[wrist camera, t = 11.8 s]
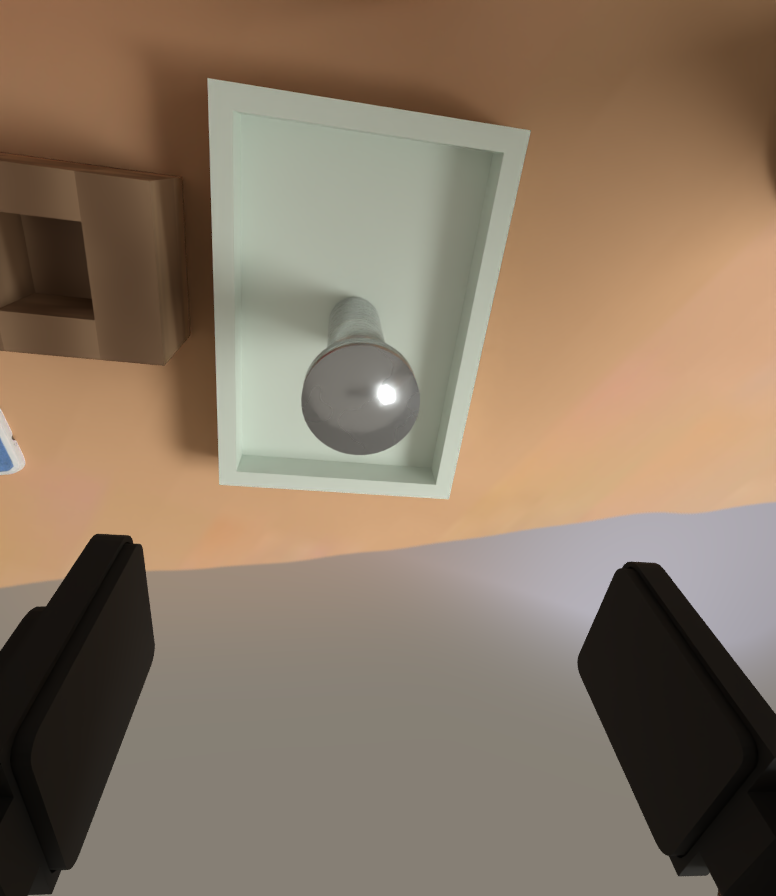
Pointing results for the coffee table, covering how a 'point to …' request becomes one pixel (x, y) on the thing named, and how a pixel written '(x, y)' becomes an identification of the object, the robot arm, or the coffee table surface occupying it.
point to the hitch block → (91, 261)
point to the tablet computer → (9, 450)
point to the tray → (349, 273)
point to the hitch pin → (359, 385)
